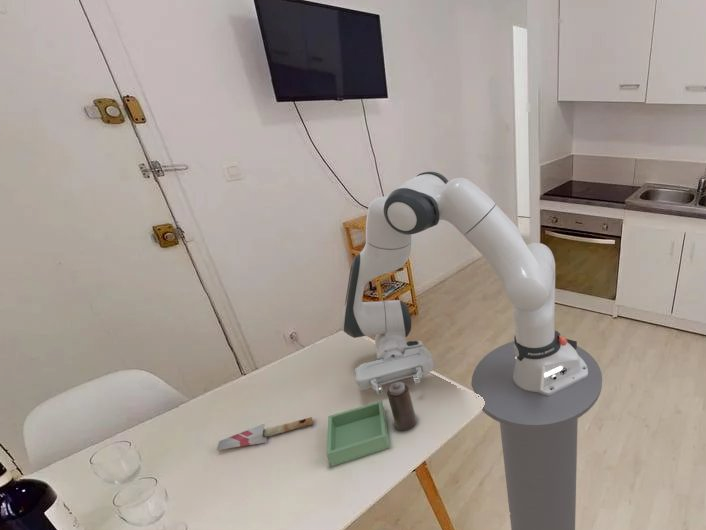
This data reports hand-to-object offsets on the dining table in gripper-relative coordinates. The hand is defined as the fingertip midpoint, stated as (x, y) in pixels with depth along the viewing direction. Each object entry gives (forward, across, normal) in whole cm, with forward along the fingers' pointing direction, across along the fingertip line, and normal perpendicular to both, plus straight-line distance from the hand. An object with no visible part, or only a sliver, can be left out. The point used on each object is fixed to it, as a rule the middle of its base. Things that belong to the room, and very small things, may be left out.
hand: (398, 386), depth 106 cm
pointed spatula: (-3, -32, +6) cm, 33 cm away
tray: (+7, -11, +6) cm, 15 cm away
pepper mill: (+7, 0, +6) cm, 10 cm away
